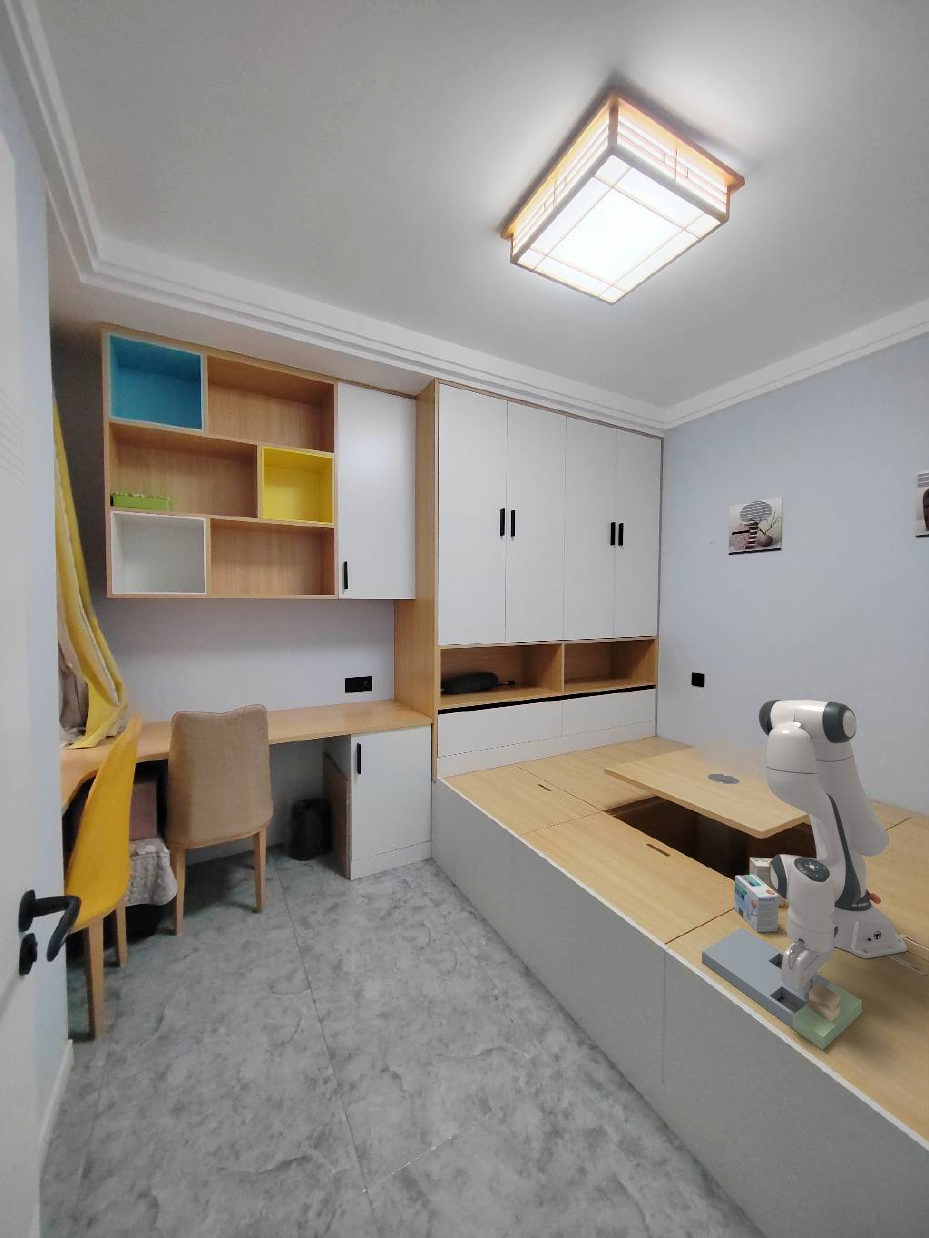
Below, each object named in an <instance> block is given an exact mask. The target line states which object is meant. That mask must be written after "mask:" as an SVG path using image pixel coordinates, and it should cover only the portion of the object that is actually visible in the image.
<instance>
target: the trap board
mask: <svg viewBox="0 0 929 1238" xmlns="http://www.w3.org/2000/svg"><path fill="white" fill-rule="evenodd" d="M784 953H785V952H783V951H781V950H780V949H778V948H777V947H775V946H773V945H772V944H770V943H768V942H767V941H765V940H763V939H762V938H760V937H759V936H757V935H755V934H754V933H752V932H750V931H749V930H747V929H746V928H744V927H740V928H738V929H737V930H735V931H734V932H732V933H730V934H728V935H727V936H725V937H724V938H722V939H720V940H718V941H717V942H715V943H714V944H712V945H710V946H709V947H707V948H705V949H704V950H702V952H701V963H702V964H703V965H705V966H706V967H707V968H709V969H711V970H712V971H713V972H715V973H716V974H718V976H719V977H721V978H723V979H724V980H725V981H727V982H729V984H731V985H733V987H735V988H737V989H738V990H740V992H742V993H743V994H745V995H746V996H747V995H748V996H747V997H749V998H750V997H751V998H750V999H752V1000H753V1001H754V1002H755V1003H757V1004H758V1005H759V1006H761V1007H762V1008H765V1009H766V1010H767V1011H768V1012H770V1014H772V1015H773V1016H775V1017H776V1018H778V1019H779V1020H781V1022H783V1023H785V1024H786V1025H787V1026H789V1028H791V1029H793V1028H792V1022H793V1015H794V1014H795V1013H796V1012H798V1011H799V1010H800V1009H801V1008H802V1007H804V1006H805V1005H806V1004H807V1003H808V1002H809V992H806V991H805V990H803V989H801V990H800V991H799V992H797V991H795V990H793V989H792V988H790V987H788V986H787V985H785V984H784V983H783V982H782V980H781V971H782V961H783V956H784ZM817 983H819V984H821V985H823V986H824V987H827V986H829V985H830V984H831V983H833V981H830V980H829V979H828V978H825V977H824V976H823V975H821V974H819V973H817V974H816V977H815V980H814V986H815V985H816V984H817ZM814 986H813V987H814ZM813 987H812V988H813ZM812 988H811V989H812Z"/></svg>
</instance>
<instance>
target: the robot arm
mask: <svg viewBox="0 0 929 1238" xmlns="http://www.w3.org/2000/svg"><path fill="white" fill-rule="evenodd" d="M758 721H759V725H760V728H761V730H762V731H763V732H764V734H765V735H766V736H767V737H768V738H767V742H766V743H767V744H766V751H765V774H766V783H767V786H768V789H769V790H770V792H771V793H772V794H773V796H775V797H776V798H777V799H779V800H780V801H782V802H783V803H785V804H787V805H789V806H790V807H793V808H795V809H798V810H799V811H802V812H805V813H807V814H808V817H809V820H810V823H811V828H812V829H811V830H812V834H813V838H814V845H815V850H816V858H813V857H807V856H806V857H805V856H801V855H791V854H777V855H775V856H774V857H773V858H771V859H772V860H771V862H770V866H769V878H770V883H771V885H772V887H773V888H774V889H775V890H776V891H777V892H778V893H779V894H780V896H781V897H783V900H786V901H787V903H788V909H787V911H786V934H787V936H788V937H789V938H790V940H791V941H792V943H791V944H790V945H789V946H788V947H787V948H786V949H785V951H784V952H783V953H784V956H783V961H782V971H781V980H782V982H783V983H784V984H785V985H787V986H788V987H790V988H792V989H793V990H795V991H797V992H799V991H800V990H801V989H803V990H805V991H806V992H809V991H810V990H811V988H812V987H813V986H814V980H815V977H816V974H818V972H819V970H820V969H821V968H823V966H824V965H825V964H826V963H827V962H828V960H830V958H831V957H832V956H833V954H834V951H835V947H836V948H838V949H842V950H843V951H844V950H845V951H847V952H849V953H851V954H853V955H855V956H857V957H859V958H862V959H870V958H875V957H876V958H877V957H880V956H888V955H893V954H898V953H904V952H907V951H908V946H907V944H906V942H905V940H903V938H902V937H901V936H900V935H899V934H898V933H897V932H896V928H895V925H894V923H893V921H892V920H891V919H890V917H889V916H888V915H887V914H885V913H884V912H883V911H882V910H880V908H878V906H876V905H879V904H881V902H882V898H881V897H879V895H876V894H875V893H873V892H872V893H871V892H870V891H869V890H868V889H867V885H866V884H867V870H868V868H867V863H866V861H865V859H864V857H870V858H871V857H875V856H879V855H882V854H883V853H884V852H885V851H886V850H887V848H888V846H889V844H890V836H889V833H888V831H887V829H886V828H885V826H884V825H883V824H882V823H881V821H880V820H879V818H878V816H877V814H876V813H875V811H874V809H873V807H872V805H871V802H870V800H869V798H868V796H867V794H866V792H865V791H866V790H864V787H863V785H862V782H861V779H860V777H859V773H858V768H857V763H856V760H855V756H854V755H855V754H854V750H853V747H852V744H851V740H852V739H853V738H854V737H855V735H856V733H857V718H856V715H855V713H854V711H853V710H852V709H851V708H850V707H849V706H848V705H846V704H845V703H841V702H837V701H821V700H815V699H792V700H791V699H790V700H781V699H774V700H769V701H766V702H765V703H764V704H763V705H762V706H761V707H760V709H759V711H758ZM863 856H864V857H863ZM871 901H872V902H873V903H872V902H871ZM874 904H876V905H874Z"/></svg>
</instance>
